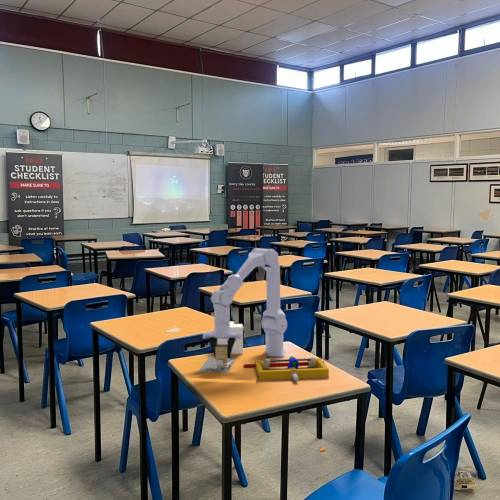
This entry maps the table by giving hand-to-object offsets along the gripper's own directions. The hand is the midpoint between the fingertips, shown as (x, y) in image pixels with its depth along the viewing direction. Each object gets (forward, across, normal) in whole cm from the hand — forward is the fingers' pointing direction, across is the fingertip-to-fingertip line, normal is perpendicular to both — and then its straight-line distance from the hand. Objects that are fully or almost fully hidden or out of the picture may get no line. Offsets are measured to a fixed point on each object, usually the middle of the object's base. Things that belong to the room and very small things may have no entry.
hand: (222, 357), depth 191 cm
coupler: (+2, 0, 0) cm, 2 cm away
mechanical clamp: (+5, +25, -5) cm, 26 cm away
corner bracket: (+4, -2, +20) cm, 20 cm away
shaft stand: (+4, -2, +1) cm, 4 cm away
